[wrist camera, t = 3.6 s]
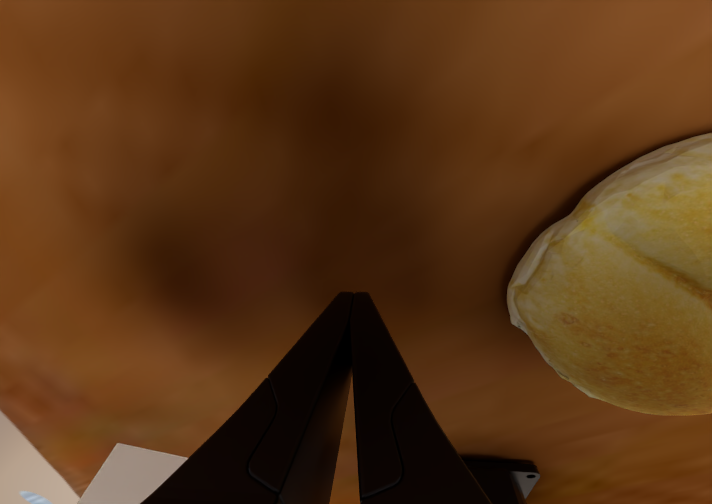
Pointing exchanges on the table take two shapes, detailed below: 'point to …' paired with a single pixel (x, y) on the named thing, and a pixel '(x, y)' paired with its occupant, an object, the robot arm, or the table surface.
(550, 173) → the table surface
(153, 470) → the milk
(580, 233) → the bread roll
